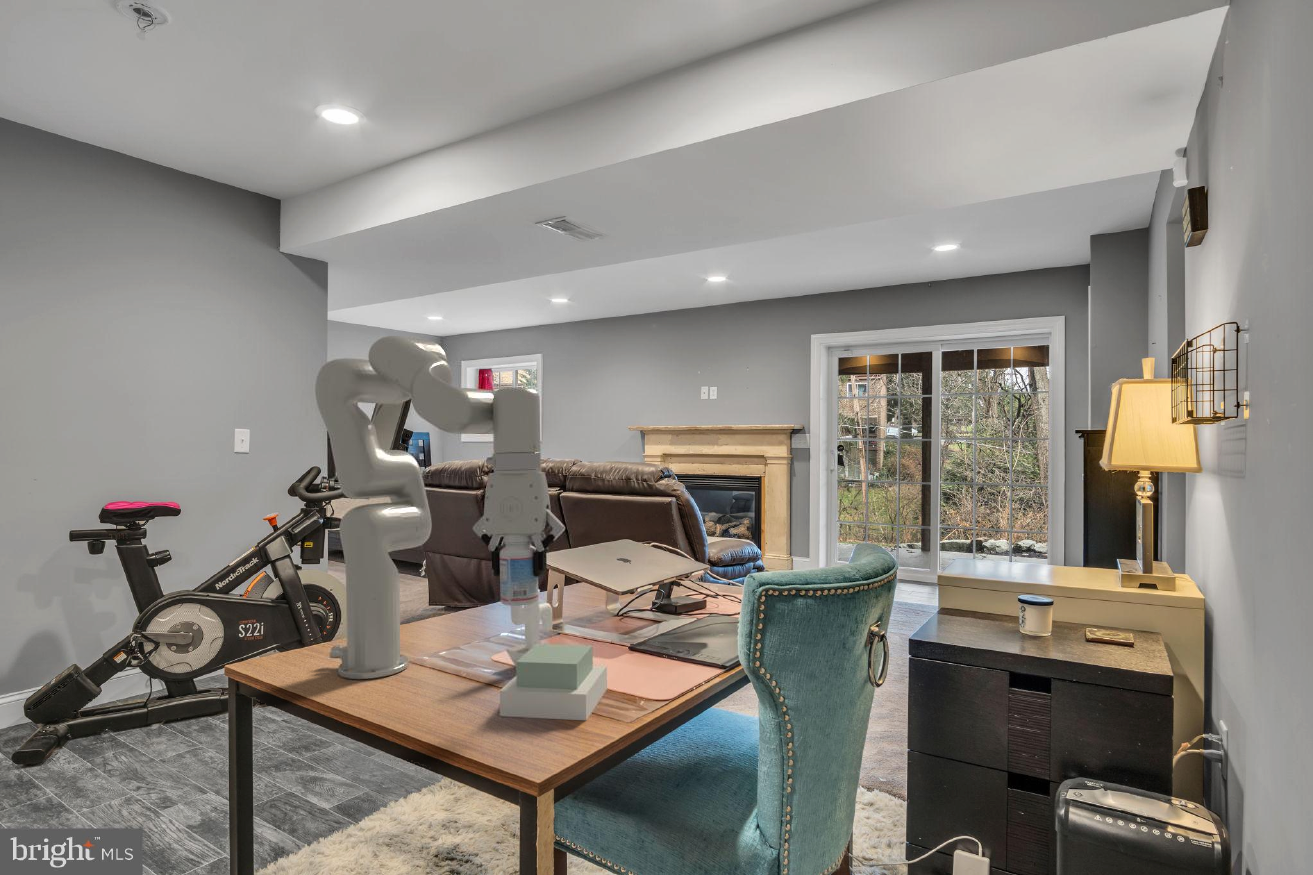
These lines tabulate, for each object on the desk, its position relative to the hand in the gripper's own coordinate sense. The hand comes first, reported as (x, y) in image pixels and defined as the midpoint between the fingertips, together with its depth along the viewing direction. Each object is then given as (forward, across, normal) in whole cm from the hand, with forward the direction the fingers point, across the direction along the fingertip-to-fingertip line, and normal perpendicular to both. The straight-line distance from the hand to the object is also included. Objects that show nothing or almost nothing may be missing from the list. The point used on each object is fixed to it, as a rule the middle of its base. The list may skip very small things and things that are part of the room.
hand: (519, 573), depth 114 cm
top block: (+18, +5, +4) cm, 19 cm away
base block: (+22, +5, +4) cm, 23 cm away
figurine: (+22, -6, +20) cm, 30 cm away
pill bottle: (+5, 0, 0) cm, 5 cm away
